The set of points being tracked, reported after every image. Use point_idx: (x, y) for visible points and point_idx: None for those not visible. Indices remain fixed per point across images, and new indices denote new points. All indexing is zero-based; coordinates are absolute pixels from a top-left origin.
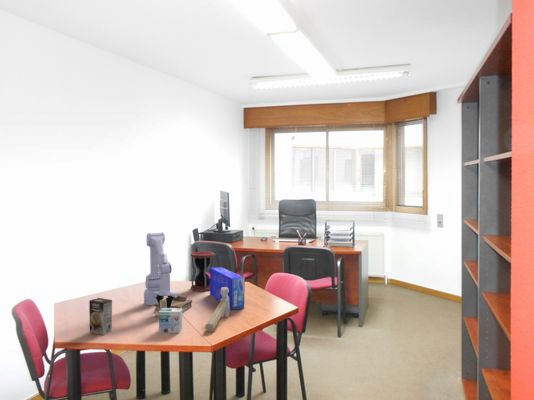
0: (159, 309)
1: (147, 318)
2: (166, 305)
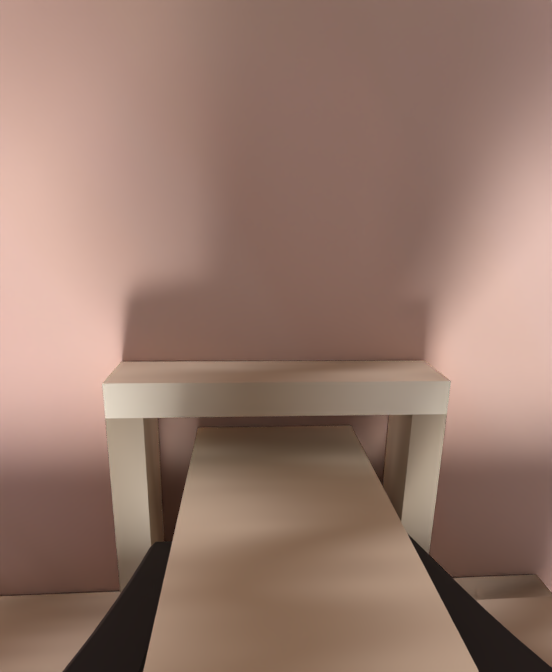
0: None
1: (504, 98)
2: (156, 624)
